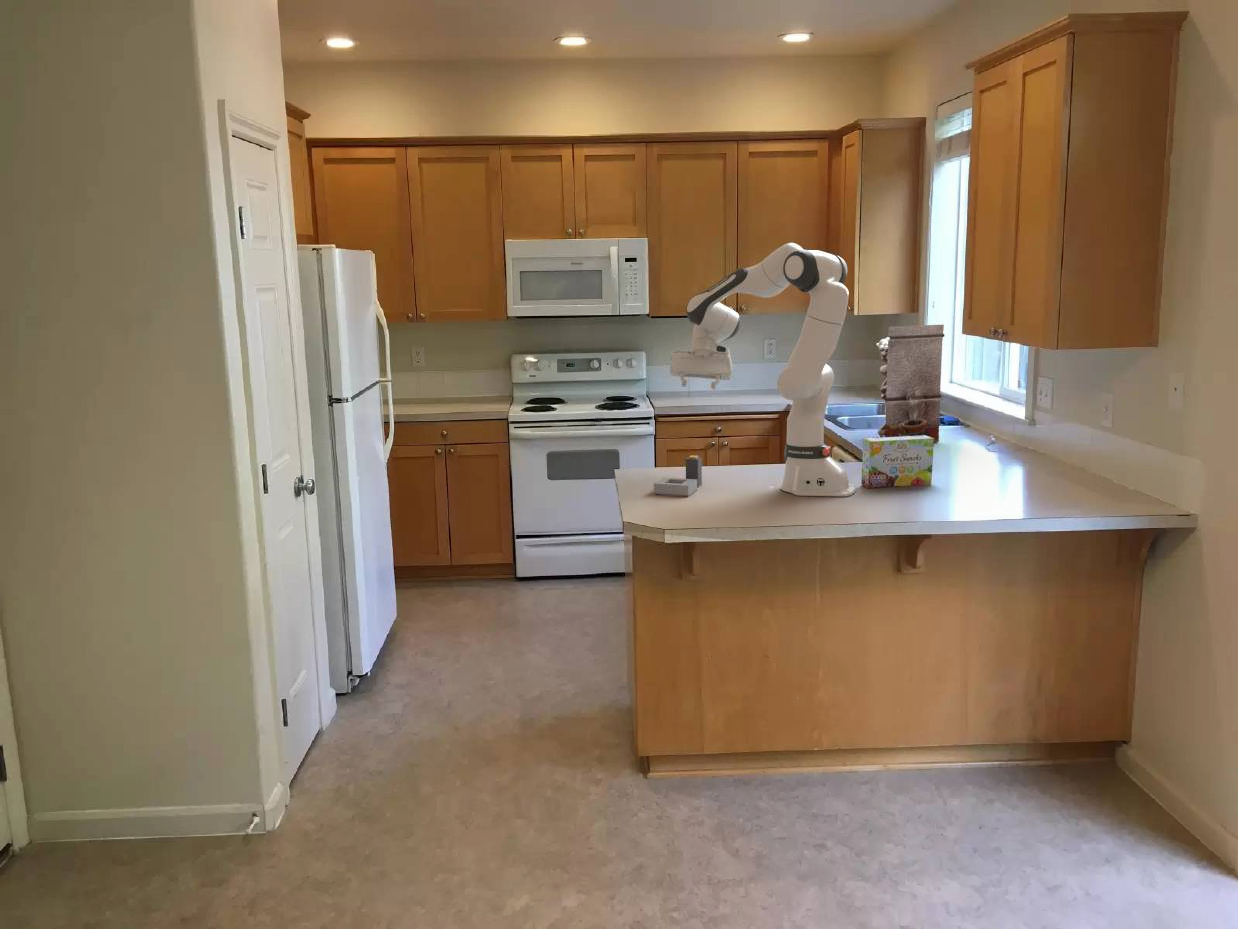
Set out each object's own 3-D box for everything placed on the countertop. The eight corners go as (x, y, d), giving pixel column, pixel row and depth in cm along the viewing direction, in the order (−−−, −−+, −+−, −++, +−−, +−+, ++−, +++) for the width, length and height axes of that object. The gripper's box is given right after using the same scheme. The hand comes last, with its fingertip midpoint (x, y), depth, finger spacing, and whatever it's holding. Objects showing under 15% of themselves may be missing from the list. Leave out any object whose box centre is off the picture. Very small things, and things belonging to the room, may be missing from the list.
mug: (896, 469, 317) (898, 425, 314) (873, 463, 327) (874, 420, 324) (936, 463, 325) (938, 420, 322) (911, 457, 335) (913, 416, 332)
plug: (701, 485, 300) (701, 455, 298) (698, 487, 296) (697, 457, 294) (689, 484, 301) (689, 454, 299) (685, 486, 298) (685, 457, 296)
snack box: (868, 489, 289) (870, 440, 286) (860, 485, 294) (862, 437, 291) (932, 484, 293) (934, 437, 290) (923, 481, 298) (925, 434, 295)
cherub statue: (912, 435, 379) (917, 322, 371) (939, 442, 362) (945, 324, 353) (861, 439, 374) (864, 324, 365) (886, 446, 356) (890, 326, 347)
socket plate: (697, 490, 292) (697, 479, 291) (688, 497, 284) (688, 485, 283) (663, 488, 296) (663, 477, 296) (653, 494, 288) (653, 483, 287)
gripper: (671, 344, 309) (666, 378, 302) (734, 349, 306) (730, 383, 299) (672, 356, 315) (667, 390, 308) (734, 360, 311) (729, 395, 305)
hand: (698, 387), depth 303 cm, fingers open, 8 cm apart
